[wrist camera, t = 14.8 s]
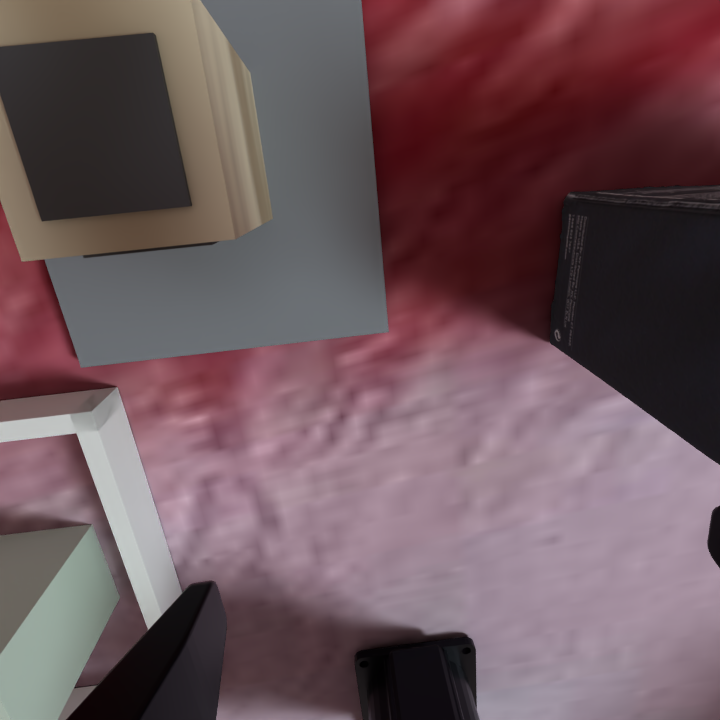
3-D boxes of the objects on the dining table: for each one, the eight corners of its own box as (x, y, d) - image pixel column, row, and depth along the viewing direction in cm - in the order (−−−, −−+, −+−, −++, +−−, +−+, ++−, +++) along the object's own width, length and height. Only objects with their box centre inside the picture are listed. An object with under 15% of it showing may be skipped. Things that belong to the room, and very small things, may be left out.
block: (120, 597, 23) (35, 762, 16) (28, 608, 23) (-95, 779, 16) (92, 524, 21) (-15, 674, 15) (-7, 536, 21) (-159, 693, 15)
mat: (386, 327, 19) (388, 332, 18) (88, 362, 18) (81, 367, 18) (349, -122, 14) (350, -135, 13) (-60, -84, 13) (-77, -96, 13)
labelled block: (250, 72, 15) (185, -22, 8) (273, 222, 16) (235, 247, 10) (108, 86, 15) (-76, 2, 8) (146, 236, 16) (20, 270, 10)
